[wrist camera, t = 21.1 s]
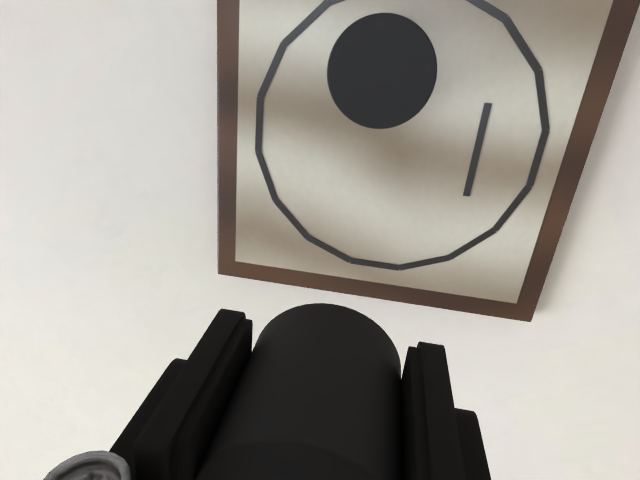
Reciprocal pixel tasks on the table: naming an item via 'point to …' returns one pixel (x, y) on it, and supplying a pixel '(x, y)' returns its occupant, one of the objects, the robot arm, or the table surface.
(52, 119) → the table surface
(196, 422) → the robot arm
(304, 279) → the picture frame
